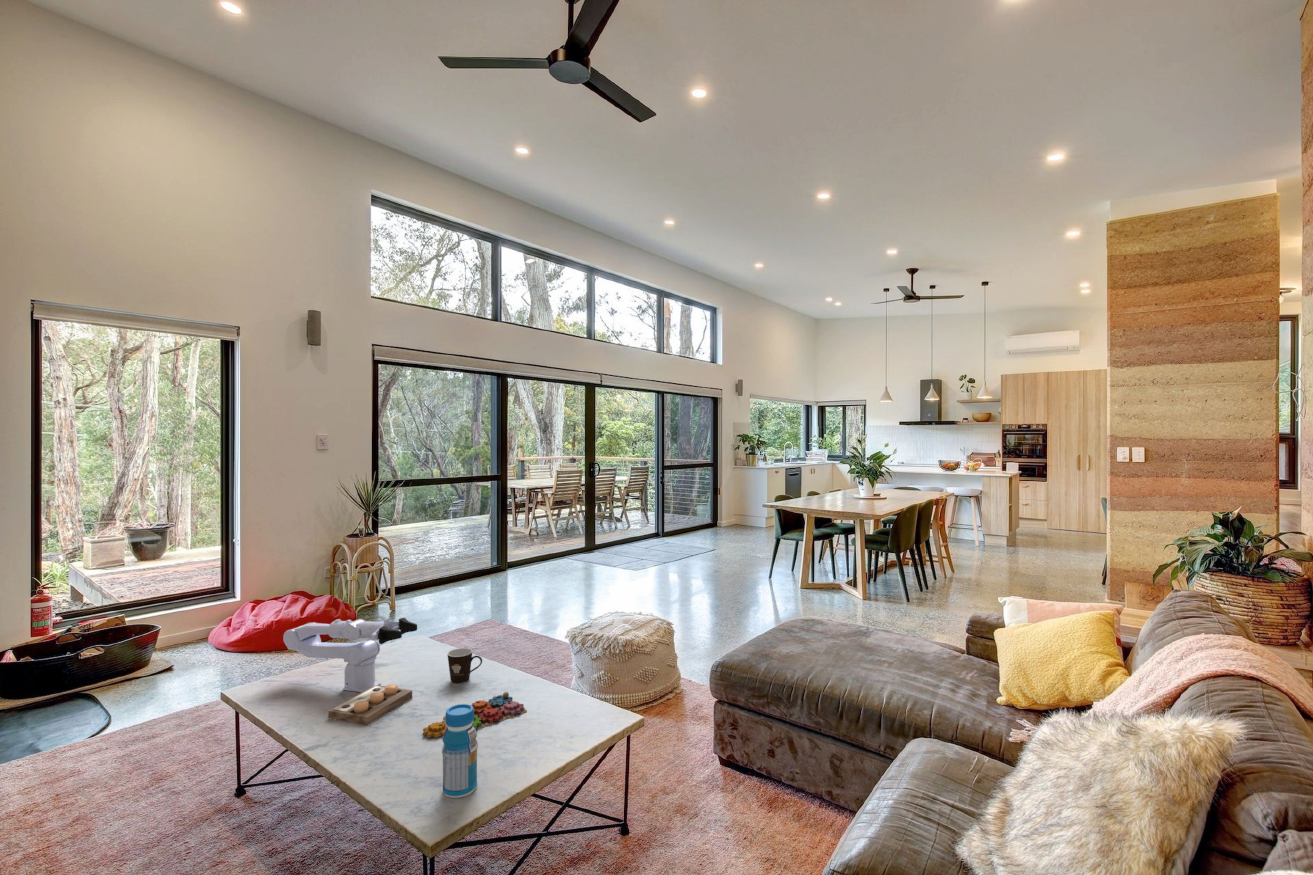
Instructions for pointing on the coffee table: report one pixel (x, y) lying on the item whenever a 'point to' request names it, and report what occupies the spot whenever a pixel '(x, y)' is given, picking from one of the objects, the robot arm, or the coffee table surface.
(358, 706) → the button
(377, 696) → the button
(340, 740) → the coffee table surface
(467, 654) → the coffee mug
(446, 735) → the beverage bottle
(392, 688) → the button
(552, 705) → the coffee table surface
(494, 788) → the coffee table surface
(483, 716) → the gear puzzle
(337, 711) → the button board
